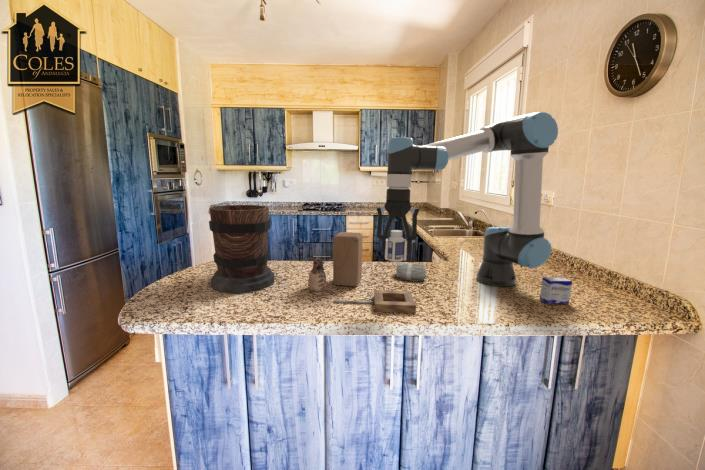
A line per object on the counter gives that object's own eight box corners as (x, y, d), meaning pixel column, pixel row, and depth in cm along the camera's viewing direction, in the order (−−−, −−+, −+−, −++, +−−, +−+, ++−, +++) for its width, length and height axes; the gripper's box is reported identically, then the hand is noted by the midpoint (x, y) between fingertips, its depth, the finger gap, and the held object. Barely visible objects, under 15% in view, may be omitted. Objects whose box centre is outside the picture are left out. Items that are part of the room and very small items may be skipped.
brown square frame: (410, 297, 117) (410, 291, 116) (415, 312, 104) (416, 305, 103) (335, 295, 118) (335, 288, 117) (331, 310, 105) (331, 302, 104)
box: (547, 304, 112) (550, 281, 111) (539, 299, 117) (542, 276, 115) (569, 304, 113) (572, 280, 111) (560, 299, 117) (563, 276, 116)
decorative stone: (426, 276, 143) (426, 262, 142) (424, 283, 133) (425, 269, 132) (396, 273, 146) (396, 260, 145) (393, 280, 136) (393, 266, 135)
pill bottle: (404, 258, 109) (406, 230, 107) (401, 262, 104) (403, 232, 102) (389, 257, 111) (390, 229, 109) (385, 261, 106) (386, 231, 104)
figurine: (330, 287, 126) (330, 257, 124) (321, 293, 120) (320, 261, 118) (314, 284, 129) (314, 255, 127) (304, 289, 123) (304, 259, 121)
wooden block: (357, 287, 126) (358, 237, 122) (332, 285, 128) (332, 235, 124) (361, 279, 136) (362, 232, 132) (338, 277, 138) (339, 231, 134)
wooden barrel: (204, 294, 116) (198, 211, 111) (221, 270, 145) (217, 203, 139) (272, 291, 121) (270, 210, 115) (276, 268, 149) (274, 203, 144)
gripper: (425, 188, 107) (421, 257, 111) (369, 187, 107) (367, 255, 112) (430, 189, 99) (425, 263, 103) (369, 188, 100) (367, 261, 104)
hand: (395, 258), depth 108 cm, fingers closed on pill bottle, 5 cm apart
